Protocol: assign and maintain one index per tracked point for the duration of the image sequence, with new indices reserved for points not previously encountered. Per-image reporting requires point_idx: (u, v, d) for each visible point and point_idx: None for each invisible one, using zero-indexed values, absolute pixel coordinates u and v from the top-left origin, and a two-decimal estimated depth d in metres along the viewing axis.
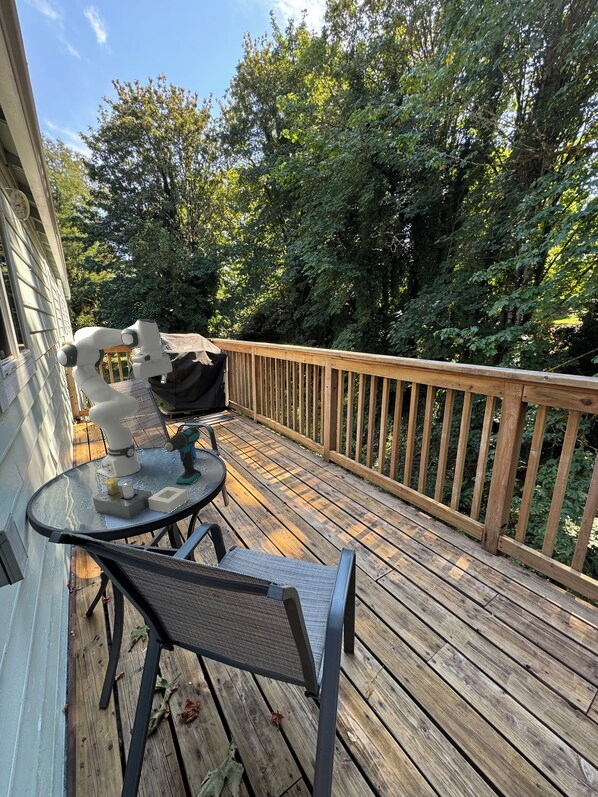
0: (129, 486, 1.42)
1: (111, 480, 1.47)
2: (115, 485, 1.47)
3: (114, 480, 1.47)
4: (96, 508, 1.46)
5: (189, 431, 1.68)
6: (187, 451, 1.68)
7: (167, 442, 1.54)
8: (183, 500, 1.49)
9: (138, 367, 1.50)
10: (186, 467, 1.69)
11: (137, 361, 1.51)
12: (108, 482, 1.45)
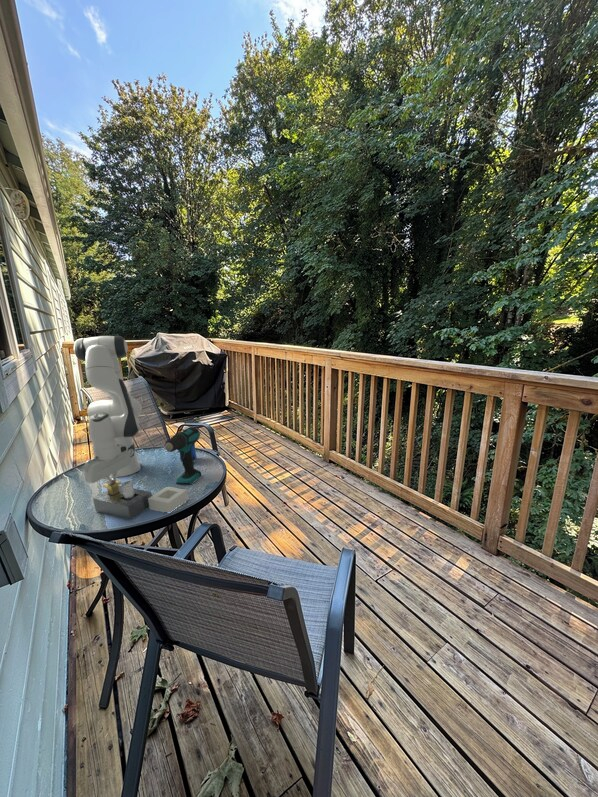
0: (129, 486, 1.42)
1: None
2: (116, 488, 1.48)
3: (115, 483, 1.47)
4: (96, 508, 1.46)
5: (189, 431, 1.68)
6: (187, 451, 1.68)
7: (167, 442, 1.54)
8: (183, 500, 1.49)
9: None
10: (186, 467, 1.69)
11: None
12: (109, 485, 1.46)
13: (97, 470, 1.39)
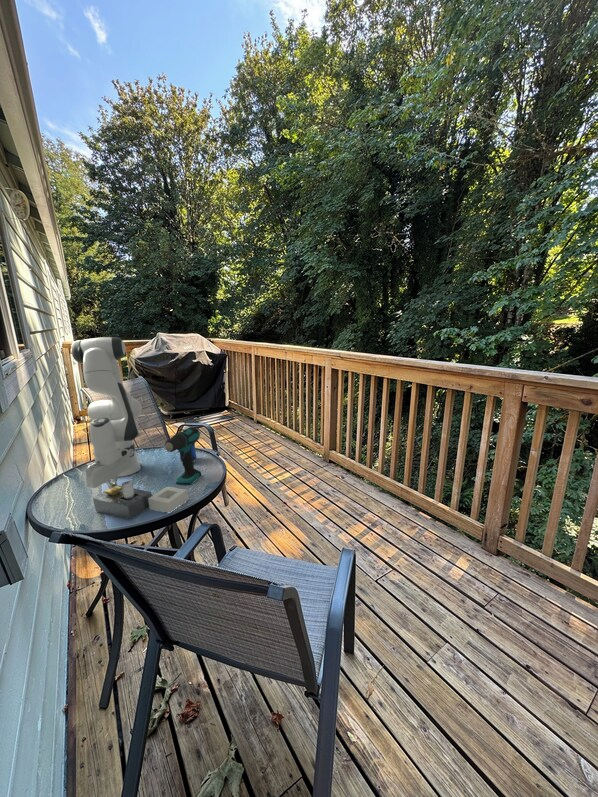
0: (129, 486, 1.42)
1: (113, 489, 1.48)
2: None
3: (116, 489, 1.48)
4: (96, 508, 1.46)
5: (189, 431, 1.68)
6: (187, 451, 1.68)
7: (167, 442, 1.54)
8: (183, 500, 1.49)
9: None
10: (186, 467, 1.69)
11: None
12: (110, 491, 1.46)
13: (99, 475, 1.40)
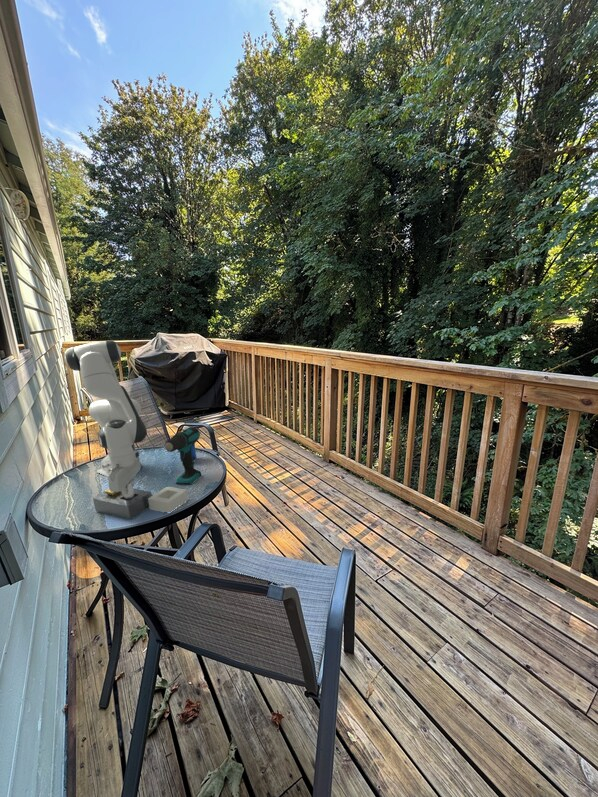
0: (129, 486, 1.42)
1: None
2: None
3: None
4: (96, 508, 1.46)
5: (189, 431, 1.68)
6: (187, 451, 1.68)
7: (167, 442, 1.54)
8: (183, 500, 1.49)
9: None
10: (186, 467, 1.69)
11: None
12: (110, 491, 1.46)
13: (120, 478, 1.36)
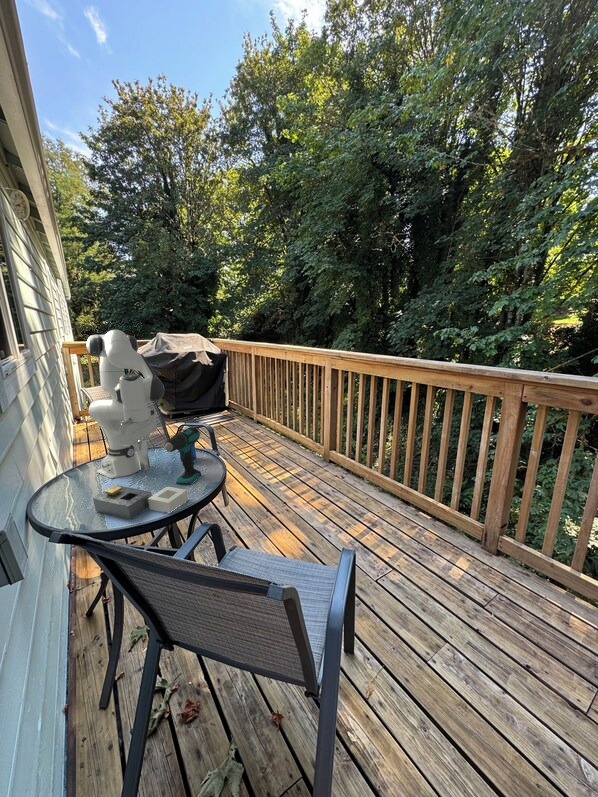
0: (142, 443, 1.39)
1: (113, 489, 1.48)
2: None
3: (116, 489, 1.48)
4: (96, 508, 1.46)
5: (189, 431, 1.68)
6: (187, 451, 1.68)
7: (167, 442, 1.54)
8: (183, 500, 1.49)
9: None
10: (186, 467, 1.69)
11: None
12: (110, 491, 1.46)
13: (132, 432, 1.33)
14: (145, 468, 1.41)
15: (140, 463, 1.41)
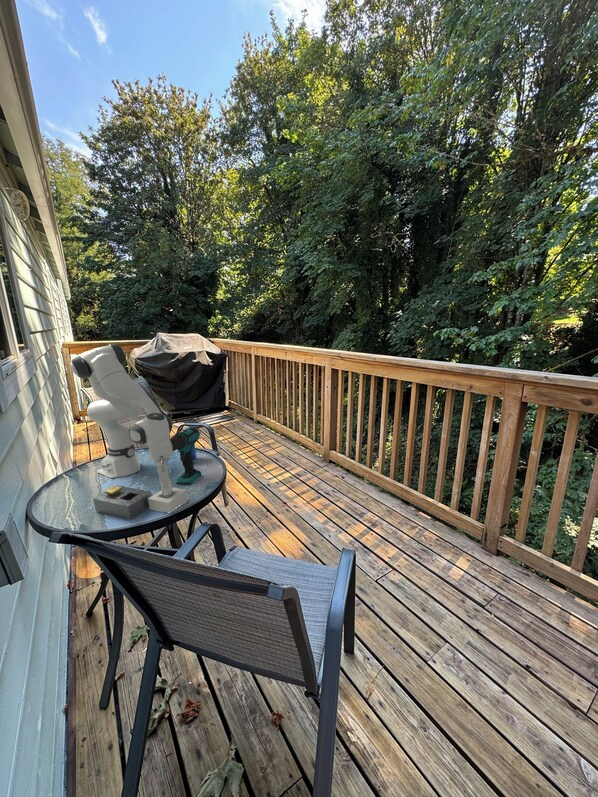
0: (169, 481, 1.45)
1: (113, 489, 1.48)
2: None
3: (116, 489, 1.48)
4: (96, 508, 1.46)
5: (189, 431, 1.68)
6: (187, 451, 1.68)
7: None
8: (183, 500, 1.49)
9: None
10: (186, 467, 1.69)
11: None
12: (110, 491, 1.46)
13: None
14: None
15: None
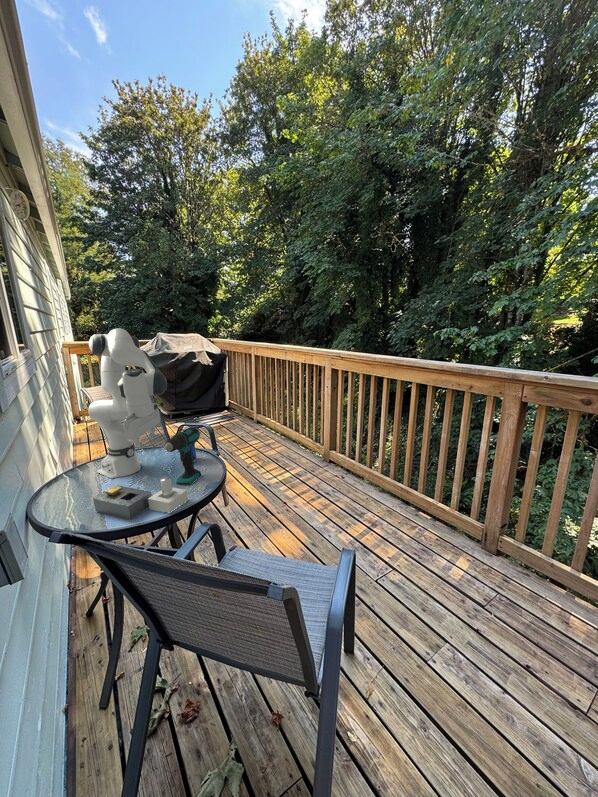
0: (169, 481, 1.45)
1: (113, 489, 1.48)
2: None
3: (116, 489, 1.48)
4: (96, 508, 1.46)
5: (189, 431, 1.68)
6: (187, 451, 1.68)
7: (167, 442, 1.54)
8: (183, 500, 1.49)
9: None
10: (186, 467, 1.69)
11: None
12: (110, 491, 1.46)
13: (136, 427, 1.34)
14: None
15: None
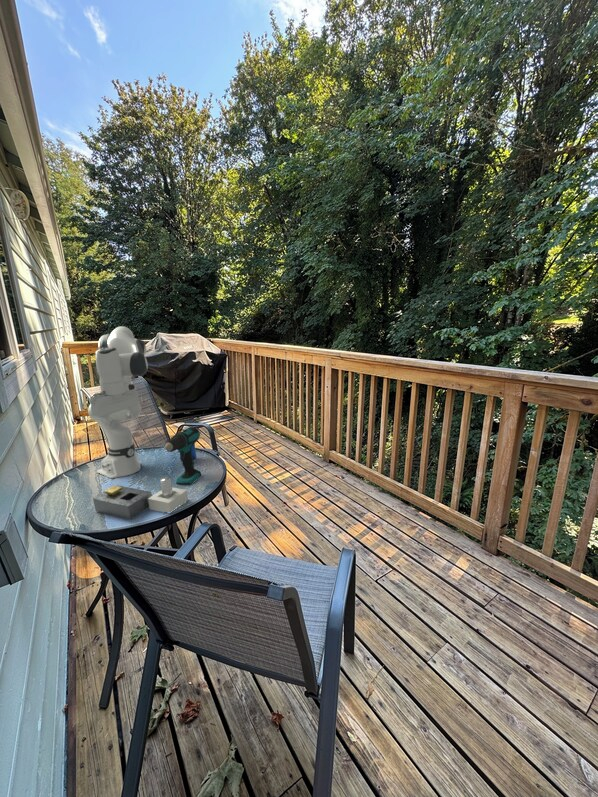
0: (169, 481, 1.45)
1: (113, 489, 1.48)
2: None
3: (116, 489, 1.48)
4: (96, 508, 1.46)
5: (189, 431, 1.68)
6: (187, 451, 1.68)
7: (167, 442, 1.54)
8: (183, 500, 1.49)
9: None
10: (186, 467, 1.69)
11: None
12: (110, 491, 1.46)
13: (104, 404, 1.34)
14: None
15: None
